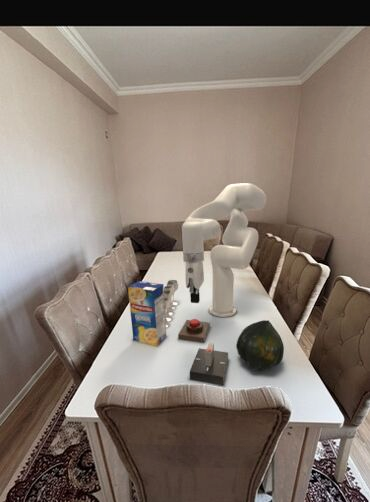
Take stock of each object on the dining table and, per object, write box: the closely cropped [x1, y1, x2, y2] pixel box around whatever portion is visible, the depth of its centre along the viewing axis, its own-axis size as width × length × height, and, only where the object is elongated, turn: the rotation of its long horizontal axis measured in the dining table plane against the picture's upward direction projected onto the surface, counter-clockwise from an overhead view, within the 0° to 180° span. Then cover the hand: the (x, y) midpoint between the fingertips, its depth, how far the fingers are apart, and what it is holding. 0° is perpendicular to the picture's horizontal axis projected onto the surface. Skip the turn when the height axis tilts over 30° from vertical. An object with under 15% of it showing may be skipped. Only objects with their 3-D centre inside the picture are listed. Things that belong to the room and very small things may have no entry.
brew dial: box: [206, 342, 215, 366], centre depth 78 cm, size 5×2×5 cm, turn 164°
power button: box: [189, 318, 200, 327], centre depth 99 cm, size 4×4×2 cm
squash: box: [235, 319, 285, 372], centre depth 80 cm, size 14×15×15 cm
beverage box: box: [127, 280, 167, 347], centre depth 94 cm, size 7×11×22 cm, turn 65°
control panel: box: [189, 347, 229, 386], centre depth 79 cm, size 12×10×3 cm
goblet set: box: [163, 279, 179, 329], centre depth 115 cm, size 28×6×13 cm, turn 172°
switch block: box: [177, 319, 211, 344], centre depth 100 cm, size 12×10×4 cm
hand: (195, 301), depth 97 cm, fingers closed
